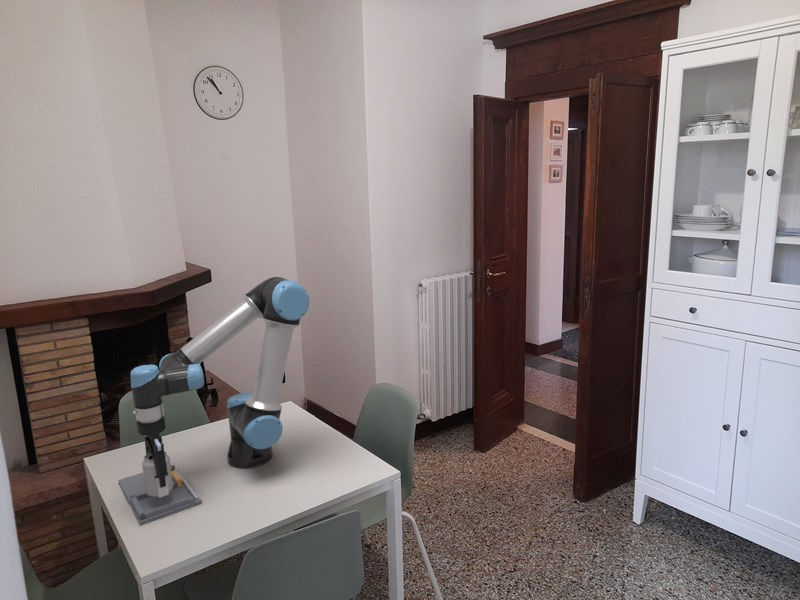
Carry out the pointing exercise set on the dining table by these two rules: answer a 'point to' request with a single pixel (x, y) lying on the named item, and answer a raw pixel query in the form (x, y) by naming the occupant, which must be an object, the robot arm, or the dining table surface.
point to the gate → (176, 477)
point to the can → (151, 472)
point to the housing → (157, 498)
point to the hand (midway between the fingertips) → (160, 489)
